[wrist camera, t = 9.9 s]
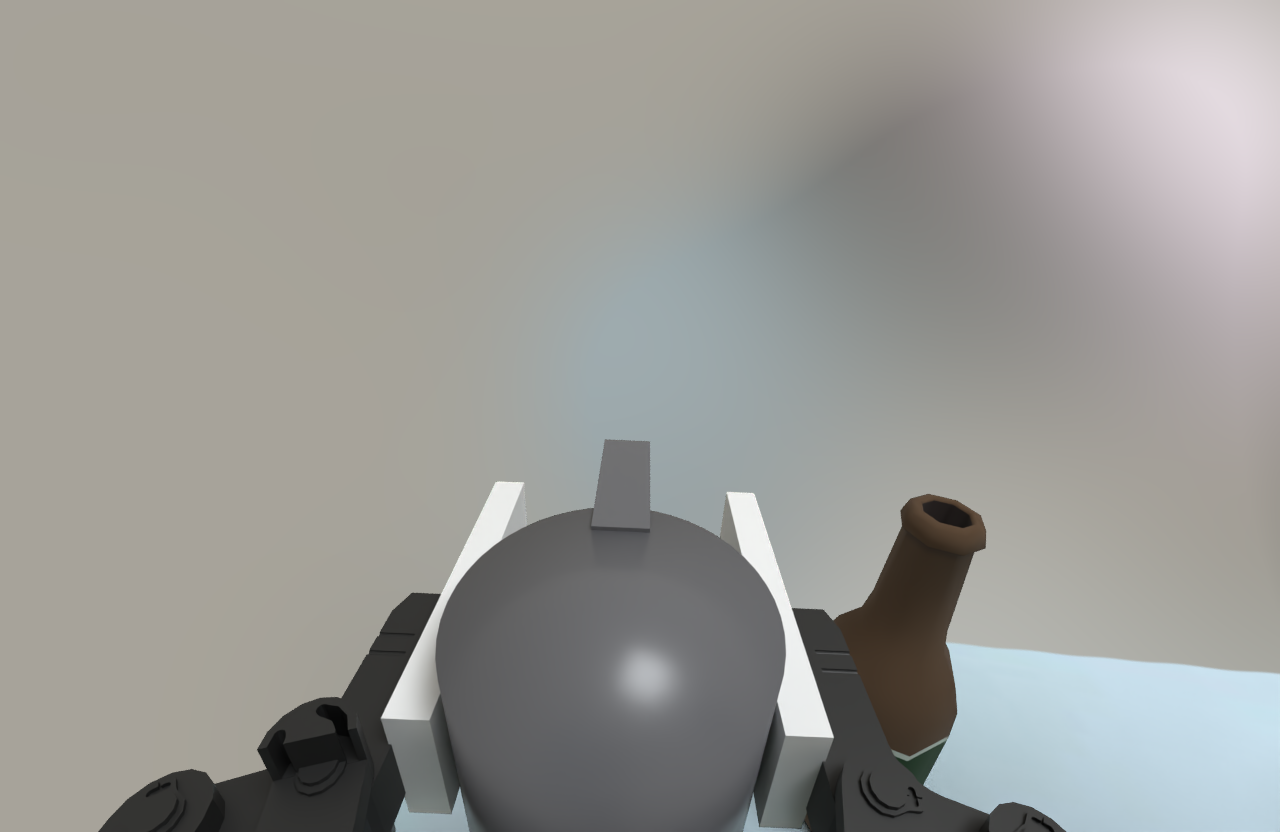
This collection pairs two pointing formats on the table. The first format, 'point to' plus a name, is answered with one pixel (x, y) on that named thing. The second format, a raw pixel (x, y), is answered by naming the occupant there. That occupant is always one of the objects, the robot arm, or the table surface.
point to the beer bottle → (915, 629)
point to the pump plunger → (610, 670)
